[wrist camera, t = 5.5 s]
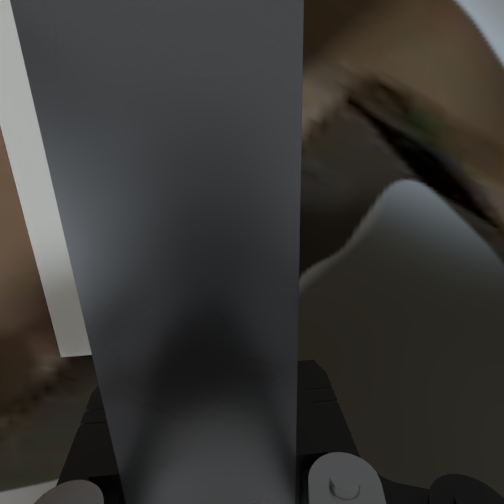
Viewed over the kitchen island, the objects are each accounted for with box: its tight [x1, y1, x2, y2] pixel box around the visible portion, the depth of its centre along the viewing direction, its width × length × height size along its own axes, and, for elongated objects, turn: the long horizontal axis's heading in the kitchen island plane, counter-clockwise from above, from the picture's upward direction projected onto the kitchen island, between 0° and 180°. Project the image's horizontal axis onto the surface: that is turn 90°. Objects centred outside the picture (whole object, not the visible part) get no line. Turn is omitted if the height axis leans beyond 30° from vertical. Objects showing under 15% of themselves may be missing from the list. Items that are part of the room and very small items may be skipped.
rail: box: [10, 0, 304, 504], centre depth 9 cm, size 22×3×3 cm, turn 2°
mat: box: [0, 0, 92, 357], centre depth 29 cm, size 26×7×1 cm, turn 2°
